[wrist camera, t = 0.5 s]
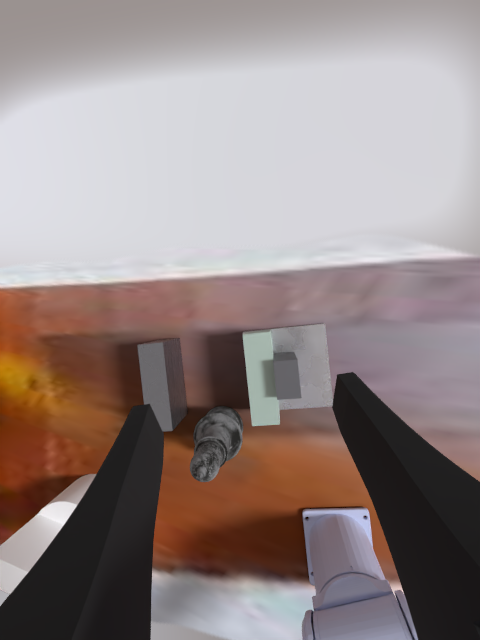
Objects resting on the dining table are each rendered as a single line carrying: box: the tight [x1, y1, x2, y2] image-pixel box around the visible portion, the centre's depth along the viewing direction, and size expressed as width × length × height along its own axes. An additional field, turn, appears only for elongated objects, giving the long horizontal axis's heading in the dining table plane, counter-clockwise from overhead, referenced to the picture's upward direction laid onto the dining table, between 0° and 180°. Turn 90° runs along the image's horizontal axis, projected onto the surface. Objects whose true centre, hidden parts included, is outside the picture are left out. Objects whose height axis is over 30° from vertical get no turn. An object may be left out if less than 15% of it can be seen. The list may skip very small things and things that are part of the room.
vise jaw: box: [242, 329, 302, 426], centre depth 34 cm, size 10×6×6 cm, turn 6°
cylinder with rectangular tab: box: [0, 474, 96, 594], centre depth 35 cm, size 9×9×12 cm
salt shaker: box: [190, 406, 243, 482], centre depth 33 cm, size 6×6×12 cm
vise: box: [137, 323, 333, 431], centre depth 35 cm, size 10×22×6 cm, turn 96°
